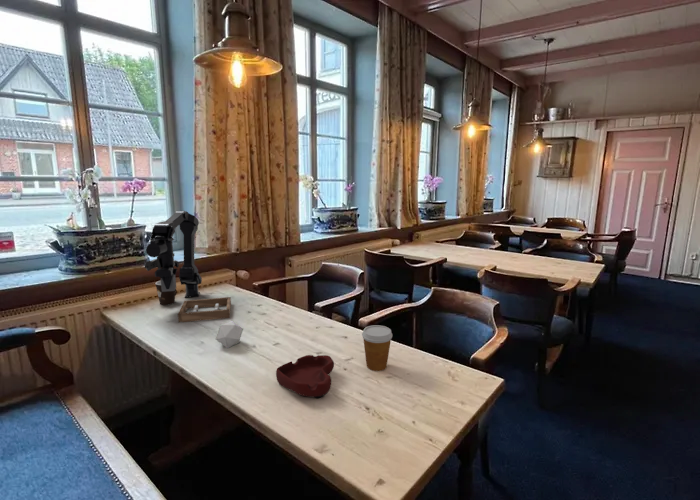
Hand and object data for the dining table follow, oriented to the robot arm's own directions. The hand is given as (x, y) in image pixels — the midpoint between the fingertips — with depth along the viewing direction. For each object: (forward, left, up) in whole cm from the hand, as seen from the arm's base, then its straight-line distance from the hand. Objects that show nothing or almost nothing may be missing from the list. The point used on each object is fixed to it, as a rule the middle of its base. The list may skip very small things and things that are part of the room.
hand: (169, 287), depth 166 cm
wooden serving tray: (+6, +15, -11) cm, 20 cm away
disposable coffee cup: (+71, +71, -11) cm, 101 cm away
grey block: (0, 0, -1) cm, 1 cm away
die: (+42, +26, -11) cm, 51 cm away
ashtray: (+75, +48, -12) cm, 90 cm away
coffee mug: (-11, -3, -11) cm, 16 cm away
